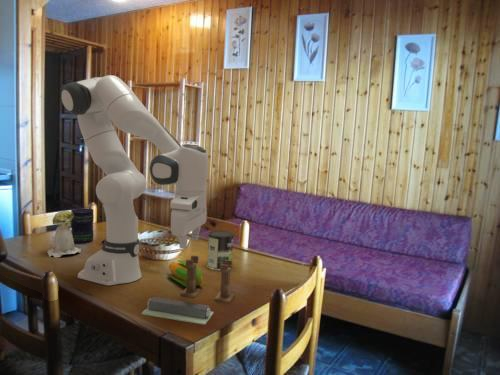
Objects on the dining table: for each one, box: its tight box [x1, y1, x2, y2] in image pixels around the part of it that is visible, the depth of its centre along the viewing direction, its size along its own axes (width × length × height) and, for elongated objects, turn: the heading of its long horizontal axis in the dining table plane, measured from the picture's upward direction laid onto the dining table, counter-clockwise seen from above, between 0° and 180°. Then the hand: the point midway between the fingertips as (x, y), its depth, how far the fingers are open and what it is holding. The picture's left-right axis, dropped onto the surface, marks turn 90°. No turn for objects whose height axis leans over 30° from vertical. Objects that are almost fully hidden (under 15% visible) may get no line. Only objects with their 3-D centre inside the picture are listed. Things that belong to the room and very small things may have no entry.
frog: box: [47, 210, 82, 258], centre depth 172 cm, size 12×13×18 cm
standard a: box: [180, 255, 202, 298], centre depth 139 cm, size 5×6×12 cm
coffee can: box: [206, 229, 235, 271], centre depth 167 cm, size 10×10×14 cm
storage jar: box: [70, 207, 94, 245], centre depth 191 cm, size 10×10×15 cm
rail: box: [146, 296, 211, 319], centre depth 123 cm, size 19×3×3 cm, turn 77°
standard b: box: [214, 259, 235, 304], centre depth 136 cm, size 5×6×12 cm
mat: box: [141, 307, 214, 325], centre depth 123 cm, size 20×8×1 cm, turn 77°
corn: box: [166, 259, 203, 288], centre depth 149 cm, size 7×8×20 cm
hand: (189, 243), depth 125 cm, fingers open, 8 cm apart
